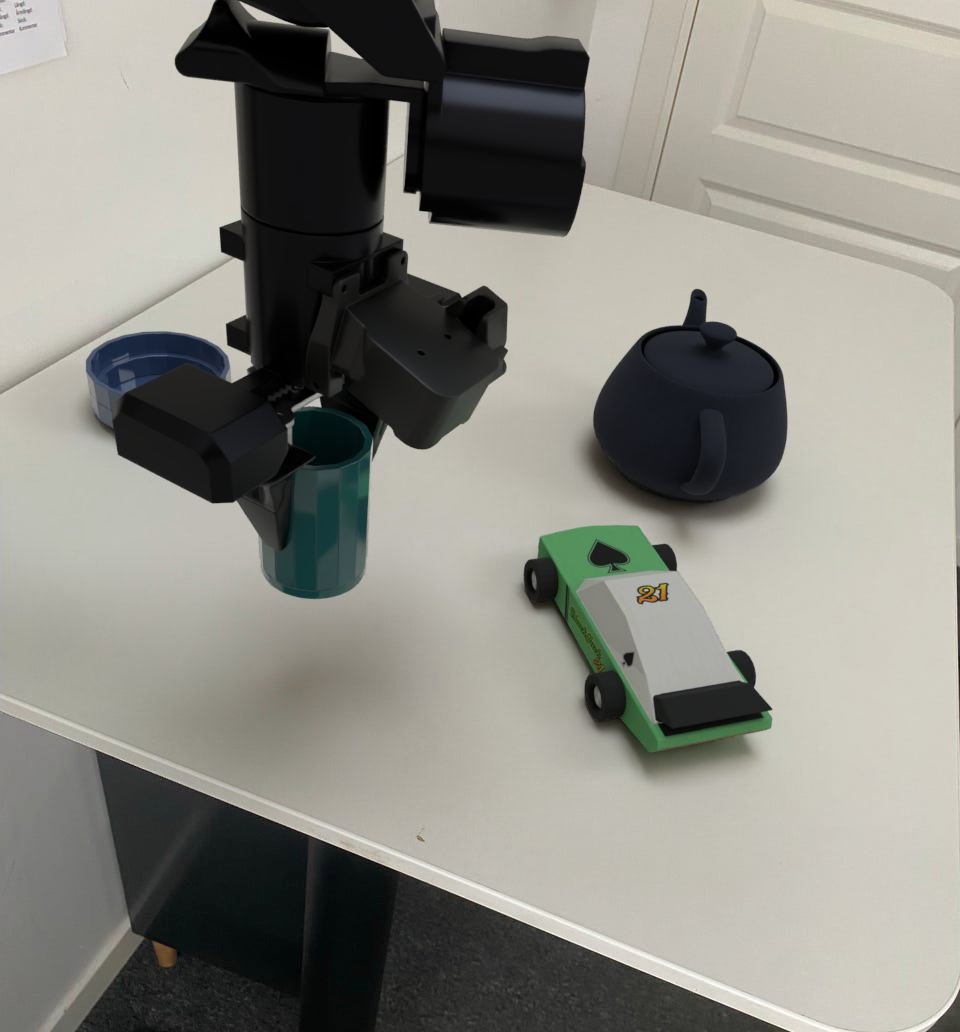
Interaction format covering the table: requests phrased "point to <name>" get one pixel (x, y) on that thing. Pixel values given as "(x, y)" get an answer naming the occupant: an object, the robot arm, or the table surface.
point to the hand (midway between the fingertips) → (313, 519)
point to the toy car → (645, 639)
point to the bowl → (145, 364)
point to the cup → (325, 509)
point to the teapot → (694, 411)
